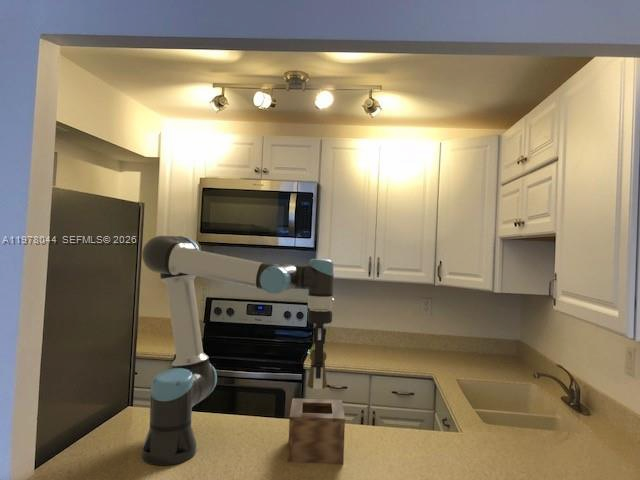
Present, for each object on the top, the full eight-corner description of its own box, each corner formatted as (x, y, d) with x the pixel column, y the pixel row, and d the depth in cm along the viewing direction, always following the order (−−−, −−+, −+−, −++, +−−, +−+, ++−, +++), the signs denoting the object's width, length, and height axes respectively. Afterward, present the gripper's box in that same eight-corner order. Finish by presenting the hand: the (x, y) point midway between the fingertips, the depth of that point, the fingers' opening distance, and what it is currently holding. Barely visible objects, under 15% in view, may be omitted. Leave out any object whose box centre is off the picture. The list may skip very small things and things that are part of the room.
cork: (309, 389, 135) (311, 352, 135) (305, 383, 141) (306, 347, 141) (329, 388, 137) (330, 351, 137) (324, 382, 142) (325, 347, 143)
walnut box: (287, 462, 130) (289, 416, 131) (291, 438, 146) (292, 398, 147) (343, 464, 131) (344, 418, 131) (340, 440, 147) (341, 399, 147)
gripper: (333, 314, 130) (330, 395, 129) (331, 305, 148) (329, 376, 148) (307, 313, 129) (304, 394, 129) (308, 305, 148) (306, 375, 148)
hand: (317, 385), depth 139 cm, fingers closed on cork, 6 cm apart
